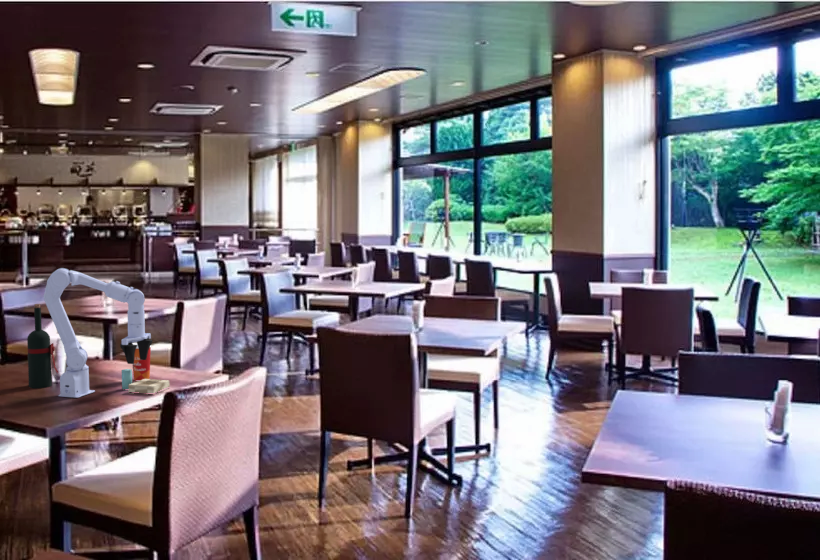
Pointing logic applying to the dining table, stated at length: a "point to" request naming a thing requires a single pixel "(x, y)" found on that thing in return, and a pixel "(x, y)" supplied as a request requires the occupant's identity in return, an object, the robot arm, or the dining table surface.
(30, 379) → the wine bottle
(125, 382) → the peg
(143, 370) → the paper cup
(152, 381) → the socket block
